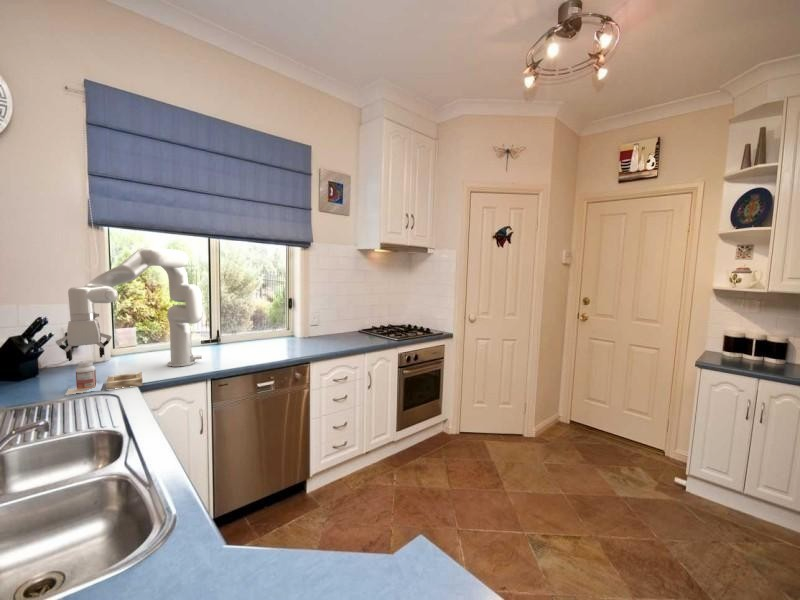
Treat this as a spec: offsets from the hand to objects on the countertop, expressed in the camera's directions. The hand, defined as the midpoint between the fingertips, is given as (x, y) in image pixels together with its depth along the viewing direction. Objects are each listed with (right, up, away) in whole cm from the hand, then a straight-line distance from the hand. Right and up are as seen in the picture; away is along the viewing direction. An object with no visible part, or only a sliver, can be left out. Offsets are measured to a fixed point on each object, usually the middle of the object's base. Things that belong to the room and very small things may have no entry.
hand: (86, 358), depth 148 cm
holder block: (+10, -12, +8) cm, 18 cm away
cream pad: (0, -13, 0) cm, 13 cm away
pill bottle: (0, -13, +1) cm, 13 cm away
